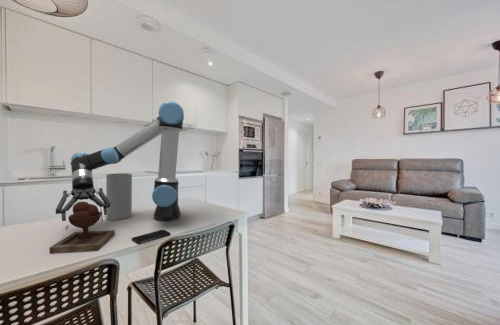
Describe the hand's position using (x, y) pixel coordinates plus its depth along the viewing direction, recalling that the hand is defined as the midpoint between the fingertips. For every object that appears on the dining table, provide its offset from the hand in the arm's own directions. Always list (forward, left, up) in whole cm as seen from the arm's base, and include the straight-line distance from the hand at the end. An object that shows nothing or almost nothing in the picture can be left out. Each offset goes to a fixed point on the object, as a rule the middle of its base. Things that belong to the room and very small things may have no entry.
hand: (86, 224), depth 86 cm
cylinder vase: (+1, -38, -9) cm, 39 cm away
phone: (-24, -5, -9) cm, 26 cm away
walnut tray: (+1, -2, -9) cm, 9 cm away
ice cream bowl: (+1, -2, -6) cm, 7 cm away
